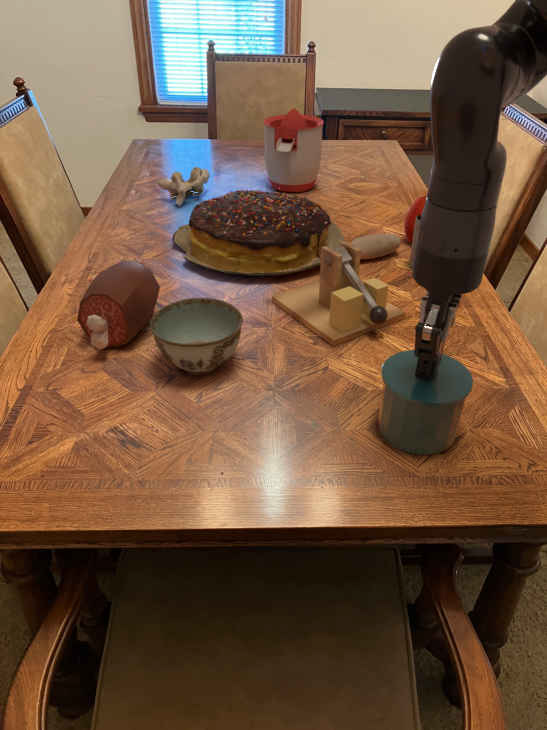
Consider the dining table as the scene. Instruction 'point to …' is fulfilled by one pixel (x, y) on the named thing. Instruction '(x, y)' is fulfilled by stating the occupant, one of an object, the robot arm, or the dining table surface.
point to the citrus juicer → (293, 150)
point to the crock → (418, 424)
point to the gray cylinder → (414, 241)
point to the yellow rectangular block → (375, 293)
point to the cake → (257, 233)
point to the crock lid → (442, 390)
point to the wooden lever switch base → (329, 298)
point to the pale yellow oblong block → (346, 309)
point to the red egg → (413, 217)
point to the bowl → (197, 333)
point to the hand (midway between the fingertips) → (427, 370)
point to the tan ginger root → (185, 184)
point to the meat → (118, 303)
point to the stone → (376, 245)
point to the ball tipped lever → (362, 289)
